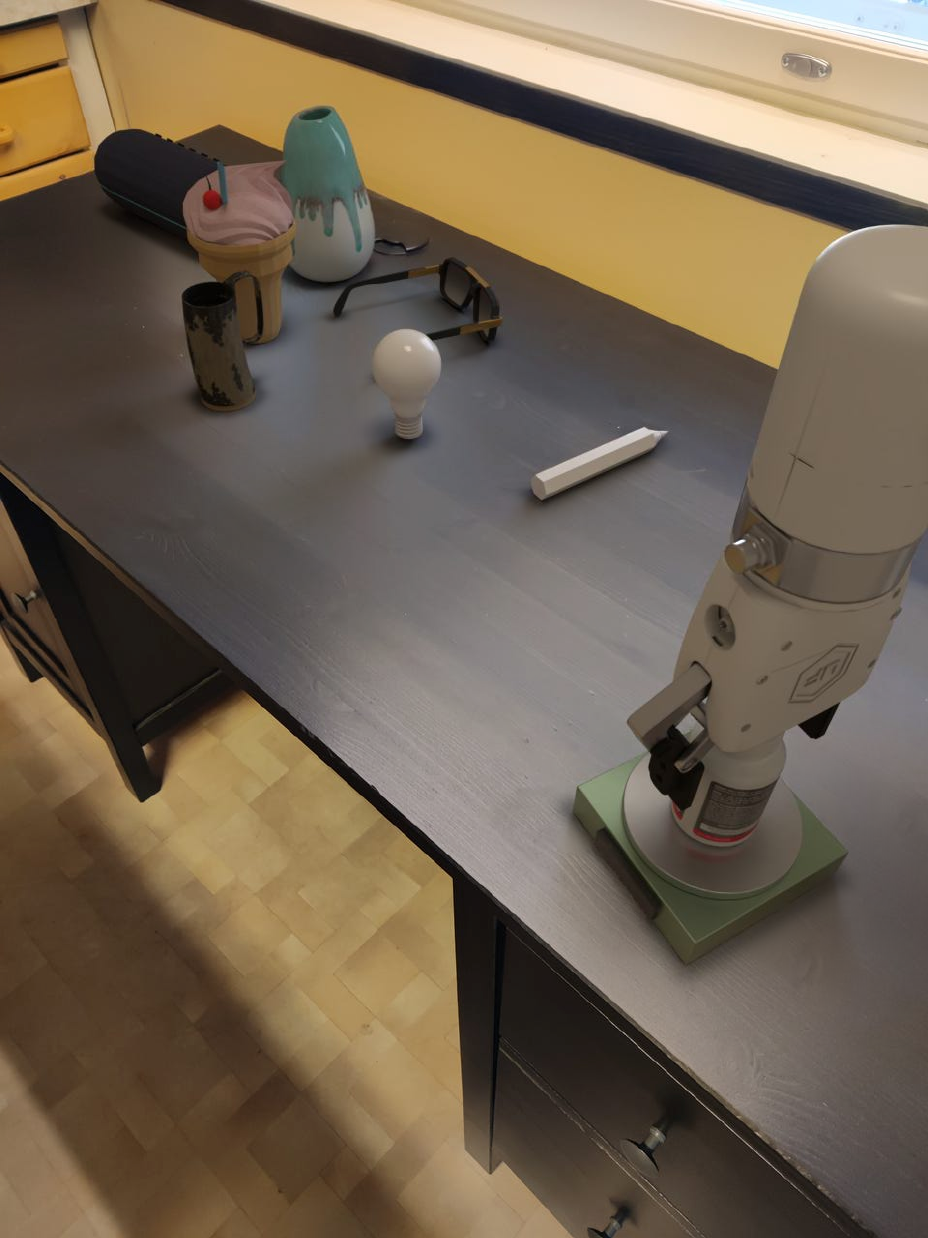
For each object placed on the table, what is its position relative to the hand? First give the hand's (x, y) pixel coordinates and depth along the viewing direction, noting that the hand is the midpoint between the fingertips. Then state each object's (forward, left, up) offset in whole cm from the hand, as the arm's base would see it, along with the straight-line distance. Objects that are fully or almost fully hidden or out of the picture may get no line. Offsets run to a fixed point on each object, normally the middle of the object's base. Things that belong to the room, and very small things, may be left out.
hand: (736, 753), depth 53 cm
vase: (-10, -84, -10) cm, 85 cm away
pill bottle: (0, 0, -6) cm, 6 cm away
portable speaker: (+2, -103, -10) cm, 103 cm away
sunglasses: (-13, -66, -10) cm, 68 cm away
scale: (0, 0, -10) cm, 10 cm away
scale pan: (0, 0, -7) cm, 7 cm away
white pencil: (-17, -36, -10) cm, 41 cm away
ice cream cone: (+3, -74, -10) cm, 74 cm away
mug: (+9, -64, -10) cm, 65 cm away
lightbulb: (-3, -49, -10) cm, 50 cm away
